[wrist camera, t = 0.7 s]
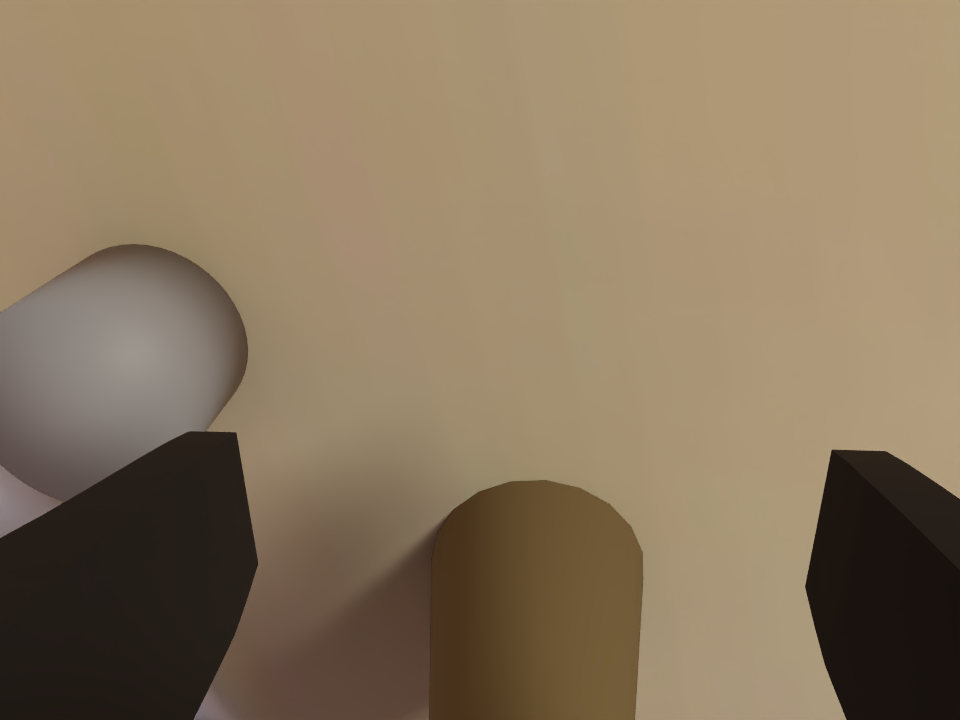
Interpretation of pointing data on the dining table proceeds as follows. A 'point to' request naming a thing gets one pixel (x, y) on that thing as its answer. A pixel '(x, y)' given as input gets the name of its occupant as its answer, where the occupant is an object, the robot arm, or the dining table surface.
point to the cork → (535, 607)
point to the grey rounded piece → (113, 365)
